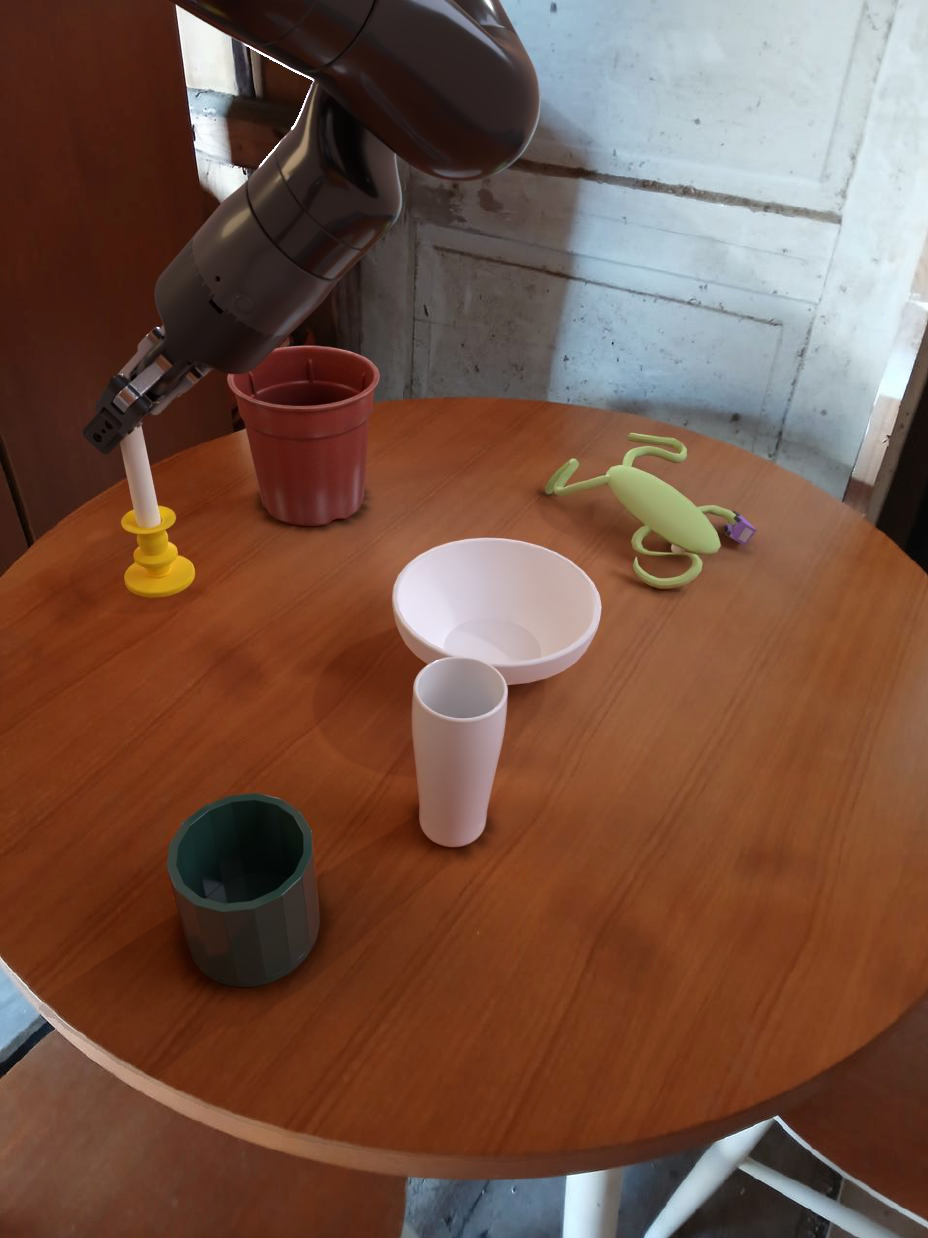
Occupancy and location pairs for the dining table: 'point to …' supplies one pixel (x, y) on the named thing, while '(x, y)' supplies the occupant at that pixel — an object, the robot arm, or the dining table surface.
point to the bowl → (497, 607)
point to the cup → (246, 888)
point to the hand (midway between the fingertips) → (104, 435)
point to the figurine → (659, 508)
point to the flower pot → (308, 430)
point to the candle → (150, 530)
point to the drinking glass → (457, 745)
